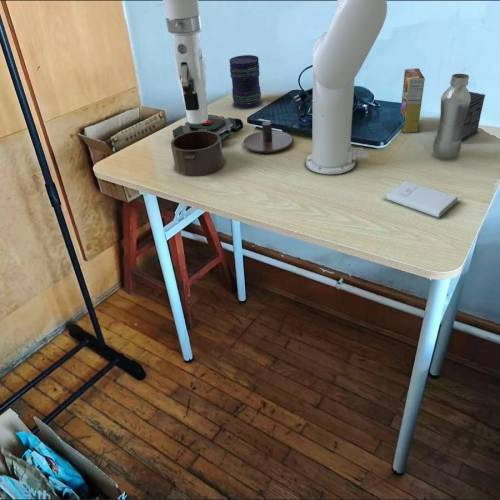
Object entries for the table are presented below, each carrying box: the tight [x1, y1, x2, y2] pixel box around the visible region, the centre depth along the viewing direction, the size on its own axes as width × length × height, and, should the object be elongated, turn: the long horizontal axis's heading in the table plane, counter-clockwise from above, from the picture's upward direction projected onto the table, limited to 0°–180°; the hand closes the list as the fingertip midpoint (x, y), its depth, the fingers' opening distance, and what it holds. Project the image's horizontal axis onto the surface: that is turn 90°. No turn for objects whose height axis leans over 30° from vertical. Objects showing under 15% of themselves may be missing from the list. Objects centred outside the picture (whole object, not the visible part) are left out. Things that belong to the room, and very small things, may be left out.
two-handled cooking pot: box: [170, 129, 224, 177], centre depth 121 cm, size 13×18×7 cm
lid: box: [242, 121, 293, 154], centre depth 129 cm, size 14×14×6 cm
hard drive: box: [385, 180, 459, 218], centre depth 100 cm, size 2×8×12 cm
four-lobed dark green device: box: [171, 113, 244, 144], centre depth 138 cm, size 18×18×5 cm
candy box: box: [400, 68, 426, 134], centre depth 128 cm, size 9×4×15 cm, turn 172°
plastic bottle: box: [432, 73, 471, 160], centre depth 110 cm, size 6×7×20 cm
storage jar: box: [228, 54, 262, 110], centre depth 154 cm, size 10×10×15 cm
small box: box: [437, 91, 486, 142], centre depth 123 cm, size 11×6×10 cm, turn 129°
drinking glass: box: [174, 57, 209, 124], centre depth 110 cm, size 7×7×15 cm
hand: (195, 104), depth 112 cm, fingers closed on drinking glass, 6 cm apart
